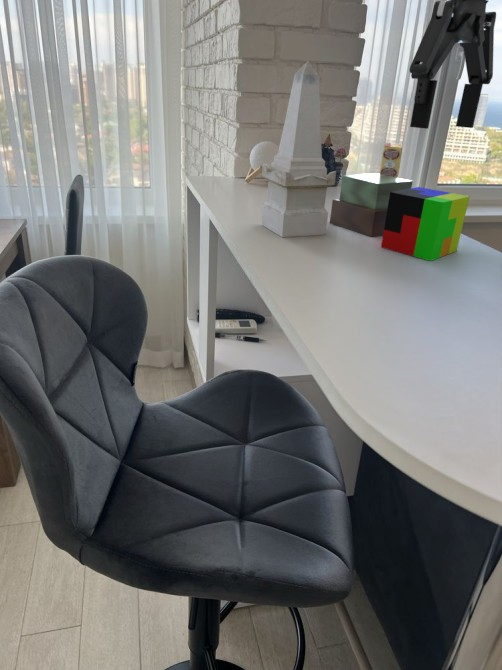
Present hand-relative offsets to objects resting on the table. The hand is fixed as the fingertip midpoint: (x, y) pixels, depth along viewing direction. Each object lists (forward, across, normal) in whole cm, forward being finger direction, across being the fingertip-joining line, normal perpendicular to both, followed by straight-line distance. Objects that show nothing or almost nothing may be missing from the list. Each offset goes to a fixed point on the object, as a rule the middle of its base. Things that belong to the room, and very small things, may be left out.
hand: (442, 127), depth 81 cm
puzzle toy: (+21, -3, -2) cm, 22 cm away
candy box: (+21, -22, -24) cm, 39 cm away
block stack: (+21, -9, -17) cm, 29 cm away
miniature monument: (+21, +8, -24) cm, 33 cm away
